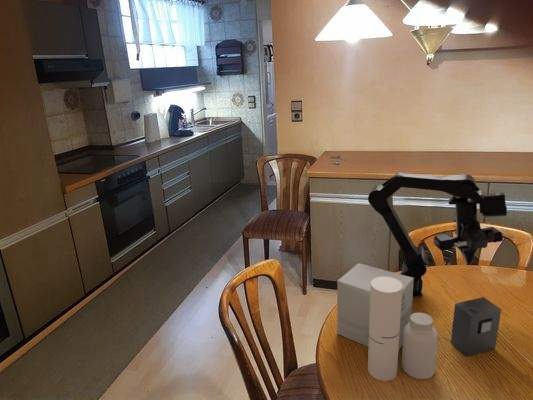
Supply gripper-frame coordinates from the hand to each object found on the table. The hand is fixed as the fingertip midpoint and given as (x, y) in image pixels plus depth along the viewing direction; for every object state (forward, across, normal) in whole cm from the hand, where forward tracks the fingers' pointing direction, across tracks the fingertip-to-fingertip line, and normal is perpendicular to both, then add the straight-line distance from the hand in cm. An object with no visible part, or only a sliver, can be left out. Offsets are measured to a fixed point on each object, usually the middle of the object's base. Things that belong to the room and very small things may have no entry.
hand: (468, 263), depth 123 cm
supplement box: (+10, -34, -14) cm, 38 cm away
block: (+13, -9, -21) cm, 26 cm away
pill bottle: (+12, -27, -28) cm, 41 cm away
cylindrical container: (+11, -36, -28) cm, 47 cm away
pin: (+8, -9, -20) cm, 23 cm away
